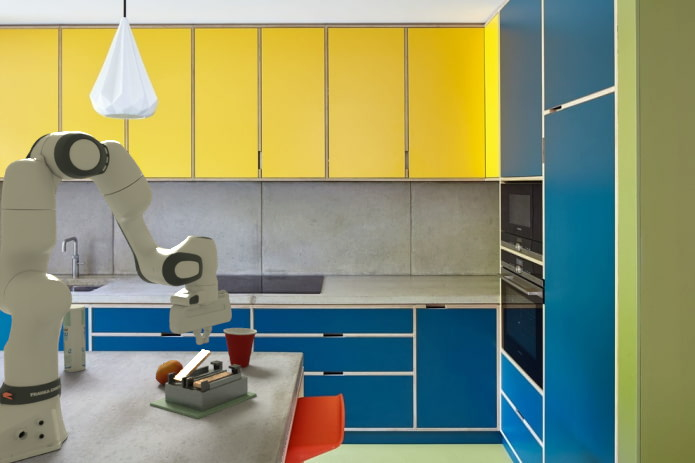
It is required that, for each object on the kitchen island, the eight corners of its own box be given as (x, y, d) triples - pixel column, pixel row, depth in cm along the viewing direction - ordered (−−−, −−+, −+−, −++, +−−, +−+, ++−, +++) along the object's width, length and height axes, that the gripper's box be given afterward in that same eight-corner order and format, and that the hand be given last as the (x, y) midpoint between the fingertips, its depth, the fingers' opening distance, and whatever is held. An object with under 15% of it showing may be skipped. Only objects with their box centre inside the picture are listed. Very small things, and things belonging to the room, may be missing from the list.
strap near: (200, 388, 167) (200, 384, 167) (193, 386, 169) (193, 382, 169) (233, 376, 177) (233, 373, 177) (225, 375, 179) (225, 371, 179)
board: (197, 419, 162) (197, 416, 162) (150, 405, 172) (150, 402, 172) (256, 395, 180) (256, 393, 180) (210, 384, 190) (210, 382, 190)
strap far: (182, 383, 171) (180, 380, 170) (174, 381, 172) (173, 378, 172) (210, 353, 179) (209, 351, 179) (203, 352, 181) (202, 349, 180)
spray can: (88, 369, 204) (87, 307, 202) (66, 373, 200) (64, 309, 199) (83, 365, 209) (82, 304, 208) (62, 368, 206) (60, 305, 204)
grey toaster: (202, 412, 165) (202, 381, 165) (165, 401, 173) (164, 372, 172) (247, 394, 179) (247, 366, 179) (211, 385, 187) (211, 358, 186)
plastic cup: (264, 364, 212) (264, 328, 211) (241, 372, 203) (241, 334, 202) (239, 359, 218) (239, 324, 217) (216, 366, 209) (216, 330, 208)
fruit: (182, 384, 186) (168, 359, 186) (160, 396, 187) (147, 372, 188) (194, 376, 193) (181, 352, 194) (173, 387, 195) (160, 364, 195)
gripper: (220, 287, 188) (221, 334, 189) (165, 298, 171) (166, 349, 172) (236, 289, 184) (237, 337, 185) (181, 300, 167) (182, 353, 168)
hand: (202, 343), depth 178 cm, fingers closed
